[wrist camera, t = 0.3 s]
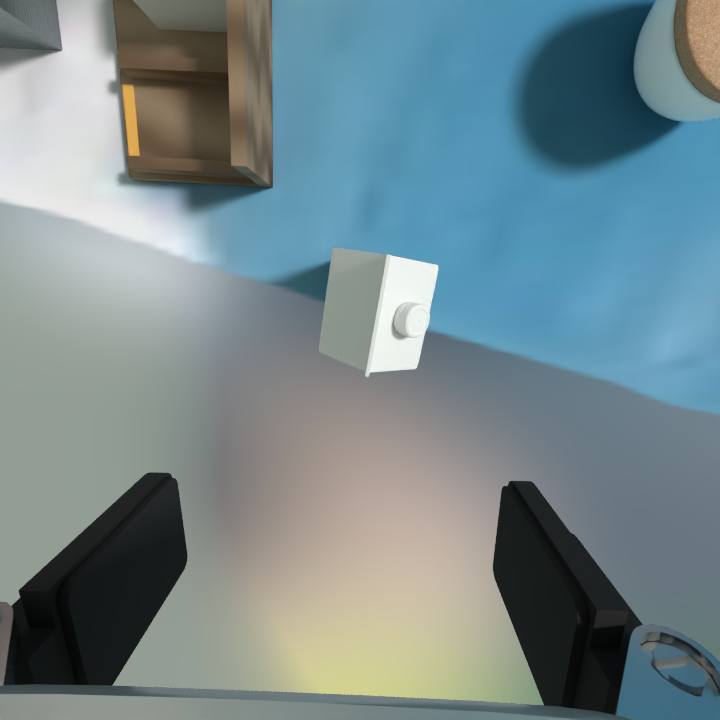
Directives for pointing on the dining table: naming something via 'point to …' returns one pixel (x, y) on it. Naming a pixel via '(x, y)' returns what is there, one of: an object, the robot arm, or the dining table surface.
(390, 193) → the dining table surface
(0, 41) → the panel
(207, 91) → the rack
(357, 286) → the milk carton
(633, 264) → the dining table surface
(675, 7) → the lidded bowl
